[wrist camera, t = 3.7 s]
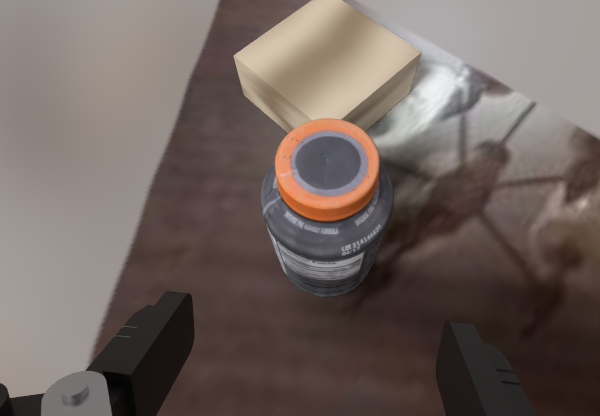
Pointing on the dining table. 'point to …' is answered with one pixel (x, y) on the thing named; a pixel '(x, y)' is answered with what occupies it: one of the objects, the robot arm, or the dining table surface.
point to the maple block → (327, 67)
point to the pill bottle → (327, 205)
